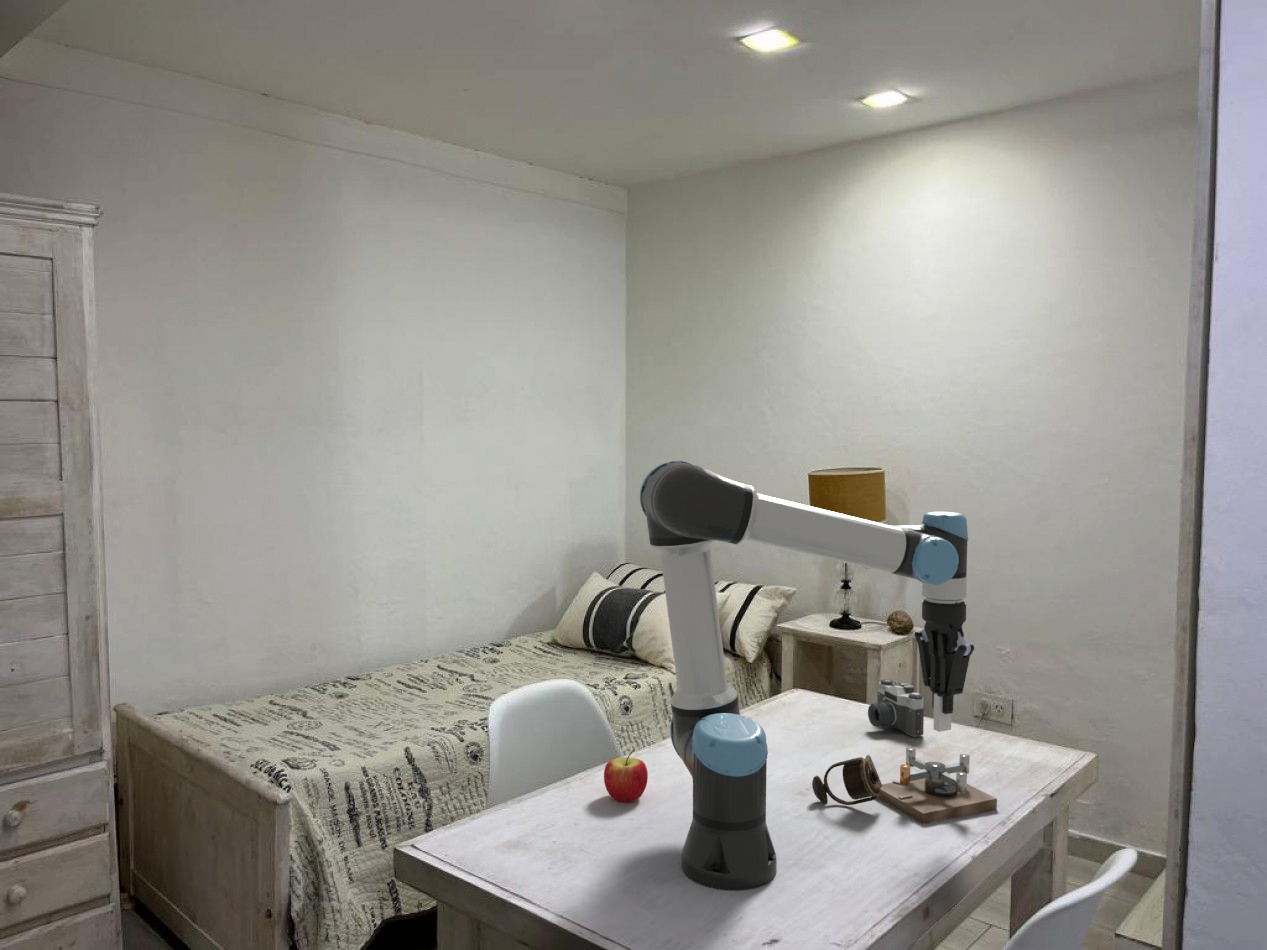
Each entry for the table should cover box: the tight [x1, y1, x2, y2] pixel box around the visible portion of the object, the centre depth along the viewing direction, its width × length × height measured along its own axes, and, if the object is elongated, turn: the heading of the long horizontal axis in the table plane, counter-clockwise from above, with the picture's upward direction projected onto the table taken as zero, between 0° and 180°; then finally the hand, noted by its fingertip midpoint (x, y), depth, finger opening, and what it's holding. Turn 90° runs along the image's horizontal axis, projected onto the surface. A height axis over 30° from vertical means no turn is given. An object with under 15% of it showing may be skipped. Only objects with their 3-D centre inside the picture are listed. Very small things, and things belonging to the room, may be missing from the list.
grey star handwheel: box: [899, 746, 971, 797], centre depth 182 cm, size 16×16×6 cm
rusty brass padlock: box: [811, 754, 882, 806], centre depth 179 cm, size 7×13×10 cm, turn 78°
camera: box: [867, 678, 925, 737], centre depth 226 cm, size 16×10×10 cm, turn 17°
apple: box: [603, 748, 649, 803], centre depth 183 cm, size 8×8×10 cm
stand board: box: [877, 778, 998, 825], centre depth 183 cm, size 17×14×2 cm
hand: (942, 729), depth 174 cm, fingers closed
